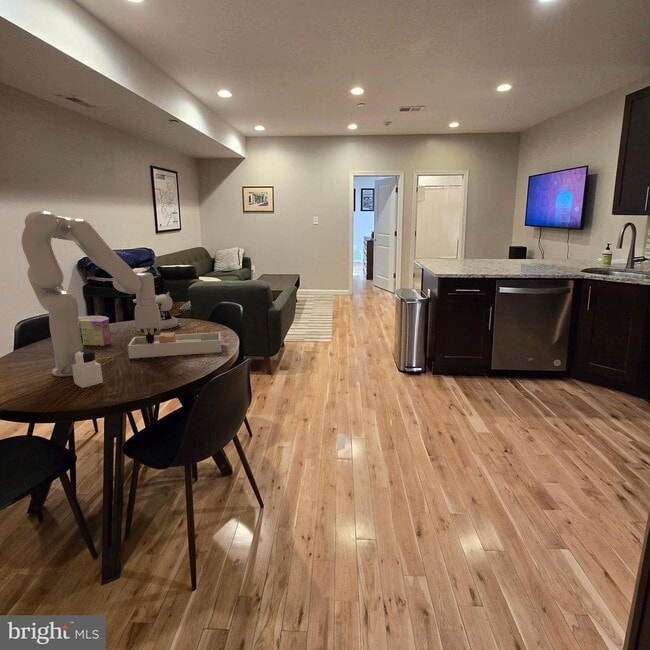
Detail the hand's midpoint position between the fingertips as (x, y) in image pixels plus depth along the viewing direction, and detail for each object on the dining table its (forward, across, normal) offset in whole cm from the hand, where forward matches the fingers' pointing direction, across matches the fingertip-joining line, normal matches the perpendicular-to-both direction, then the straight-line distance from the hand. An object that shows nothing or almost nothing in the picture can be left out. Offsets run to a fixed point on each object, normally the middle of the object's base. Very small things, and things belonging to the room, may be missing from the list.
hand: (150, 342), depth 185 cm
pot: (+5, -5, +28) cm, 29 cm away
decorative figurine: (+5, 0, +48) cm, 48 cm away
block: (+1, +7, 0) cm, 7 cm away
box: (+5, -27, +21) cm, 34 cm away
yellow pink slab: (+5, -37, +40) cm, 55 cm away
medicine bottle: (+5, -17, -32) cm, 37 cm away
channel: (+5, +11, 0) cm, 12 cm away
